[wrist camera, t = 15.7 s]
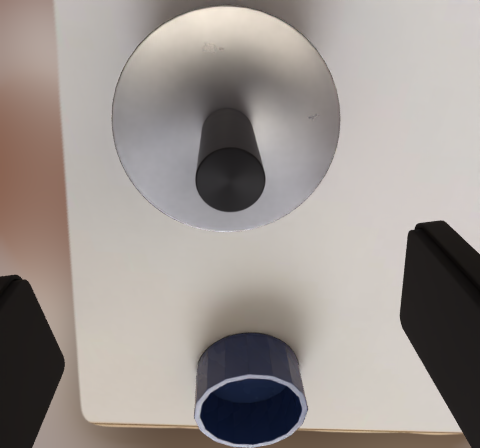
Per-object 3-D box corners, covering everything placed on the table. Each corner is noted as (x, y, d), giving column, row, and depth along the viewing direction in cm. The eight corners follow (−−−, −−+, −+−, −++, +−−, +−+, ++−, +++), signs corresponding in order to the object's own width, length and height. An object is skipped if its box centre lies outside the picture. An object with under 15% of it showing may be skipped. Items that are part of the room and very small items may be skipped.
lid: (116, 212, 25) (78, 290, 18) (115, -15, 19) (60, -25, 12) (307, 233, 26) (338, 312, 19) (362, 26, 20) (432, 38, 14)
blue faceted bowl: (192, 400, 47) (190, 445, 42) (202, 328, 41) (200, 370, 37) (286, 405, 48) (294, 449, 43) (307, 336, 43) (318, 378, 38)
